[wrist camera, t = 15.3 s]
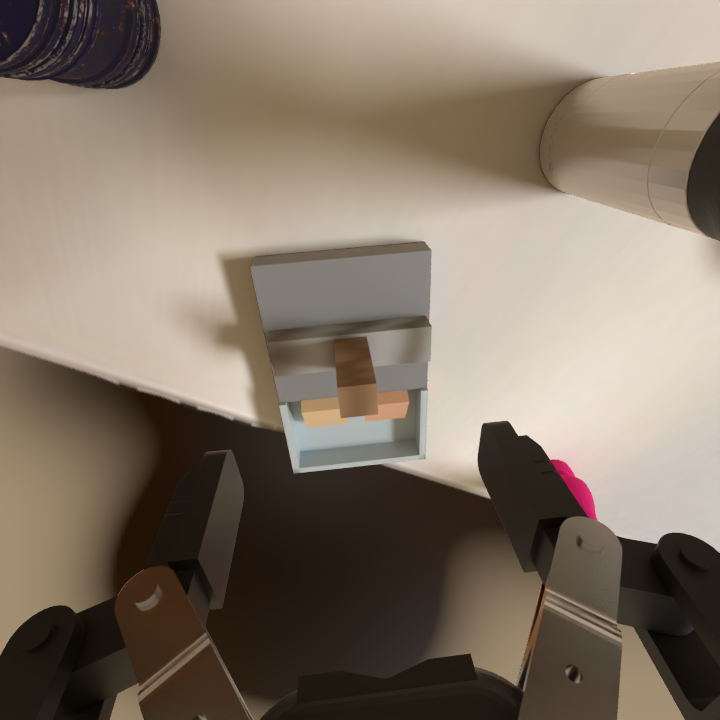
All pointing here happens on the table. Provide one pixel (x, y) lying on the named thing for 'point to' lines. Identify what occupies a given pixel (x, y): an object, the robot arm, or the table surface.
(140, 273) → the table surface
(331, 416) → the tile
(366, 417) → the tile
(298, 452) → the tray
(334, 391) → the board
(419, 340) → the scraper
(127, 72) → the storage jar
